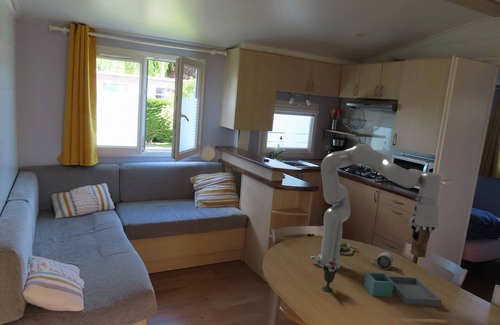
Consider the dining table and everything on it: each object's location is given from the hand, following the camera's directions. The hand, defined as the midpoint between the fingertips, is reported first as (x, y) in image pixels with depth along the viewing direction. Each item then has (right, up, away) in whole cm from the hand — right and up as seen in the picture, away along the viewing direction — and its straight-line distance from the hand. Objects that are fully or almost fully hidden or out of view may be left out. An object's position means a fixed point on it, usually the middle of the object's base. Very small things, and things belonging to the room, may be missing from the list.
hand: (420, 239), depth 156 cm
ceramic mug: (-5, -22, +31) cm, 39 cm away
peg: (-1, -7, +1) cm, 7 cm away
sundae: (-41, -23, +2) cm, 47 cm away
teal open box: (-18, -25, +3) cm, 31 cm away
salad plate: (-25, -17, +50) cm, 58 cm away
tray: (-2, -26, +5) cm, 27 cm away
